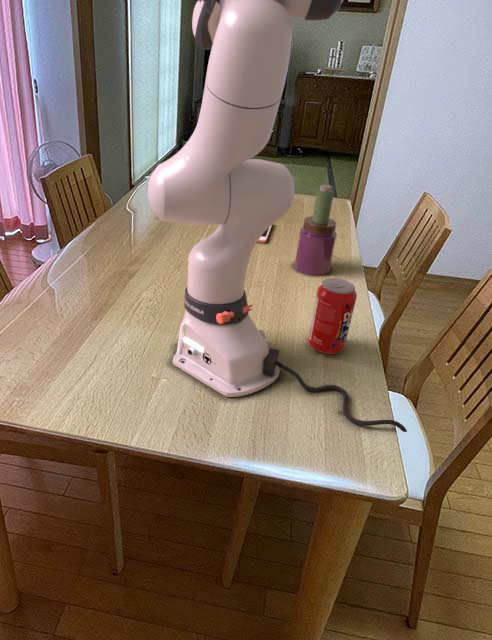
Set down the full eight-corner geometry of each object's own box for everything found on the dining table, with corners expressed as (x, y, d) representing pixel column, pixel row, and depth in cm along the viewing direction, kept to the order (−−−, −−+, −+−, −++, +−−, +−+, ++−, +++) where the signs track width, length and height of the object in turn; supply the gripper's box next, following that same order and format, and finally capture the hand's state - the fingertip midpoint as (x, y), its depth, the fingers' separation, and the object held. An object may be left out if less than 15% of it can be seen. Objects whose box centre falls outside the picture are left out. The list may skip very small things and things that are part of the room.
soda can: (300, 339, 107) (311, 278, 99) (330, 334, 109) (343, 274, 102) (319, 359, 101) (333, 296, 93) (351, 353, 103) (366, 291, 95)
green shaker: (331, 222, 132) (338, 187, 127) (320, 225, 130) (327, 189, 125) (319, 217, 135) (325, 183, 130) (308, 220, 133) (314, 185, 128)
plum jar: (336, 270, 139) (346, 224, 132) (312, 278, 134) (321, 230, 127) (311, 258, 146) (319, 213, 139) (287, 265, 141) (294, 218, 133)
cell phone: (238, 239, 156) (238, 236, 156) (247, 221, 171) (247, 218, 171) (265, 242, 154) (266, 240, 154) (272, 224, 170) (272, 221, 169)
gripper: (250, 68, 102) (244, 137, 109) (272, 64, 119) (266, 124, 126) (222, 66, 104) (218, 134, 111) (248, 63, 120) (243, 122, 127)
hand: (244, 129), depth 118 cm, fingers open, 8 cm apart
